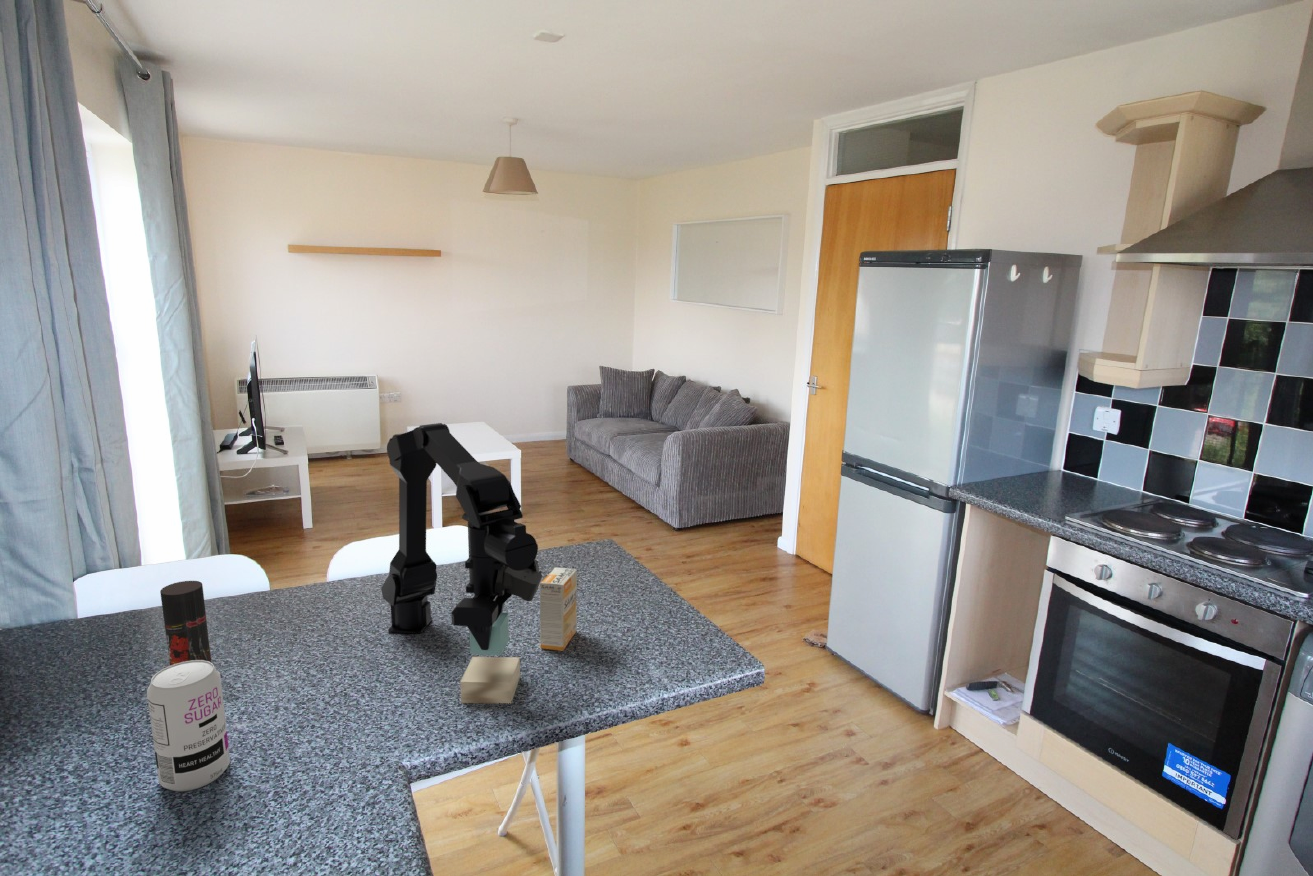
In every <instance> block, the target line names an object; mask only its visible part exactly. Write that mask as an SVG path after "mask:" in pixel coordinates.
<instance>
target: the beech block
mask: <svg viewBox="0 0 1313 876" xmlns="http://www.w3.org/2000/svg"><path fill="white" fill-rule="evenodd" d="M520 659H521V657H513V656H511V657H510V656H509V657H508V656H507V657H504V656H503V657H502V656H501V657H499V656H495V657H494V656H472V657H471V658H470V662H469V664H468V666H467V668H466V669H465V671H464V673H463V676H462V678H461V680H460V682H459V683H460V703H461V704H499V703H508V704H507V705H511V704H512V702H513V700H514V696H515V694H516V693H515V692H516V691H517V687H518V684H519V681H520V678H521V663H520V662H521V661H520ZM511 701H512V702H511ZM509 703H510V704H509Z"/></svg>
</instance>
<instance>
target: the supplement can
mask: <svg viewBox="0 0 1313 876" xmlns="http://www.w3.org/2000/svg"><path fill="white" fill-rule="evenodd" d="M211 662H212V661H211ZM211 662H209V661H204V660H192V661H186V662H181V663H177V664H174V665H171V666H170V665H168V666H166V667H165V668H162V669H160V670H159V671H157V672H156V673H154V674H153V676H152V678H151V679H150V680H151V682H150V683H149V686H148V687H147V689H146V697H147V705H148V712H149V720H150V726H151V734H152V740H153V747H154V756H155V764H156V769H157V776H158V783H159V785H161V786H162V788H164V789H167V790H168V791H169V790H170V791H173V792H189V791H193V790H196V789H197V790H198V789H200V788H202V787H204V786H207V785H209V784H210V783H213V782H214V781H216V780H217V779H218V778H219V777H221V776H222V774H224V772H225V771H226V770H227V769H228V767H229V765H230V762H231V756H230V748H229V747H230V746H229V740H228V730H227V723H226V712H225V704H224V703H225V702H224V694H223V686H222V679H221V673H220V672H219V670H218V669H216V667H215V666H214V663H211Z"/></svg>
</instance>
